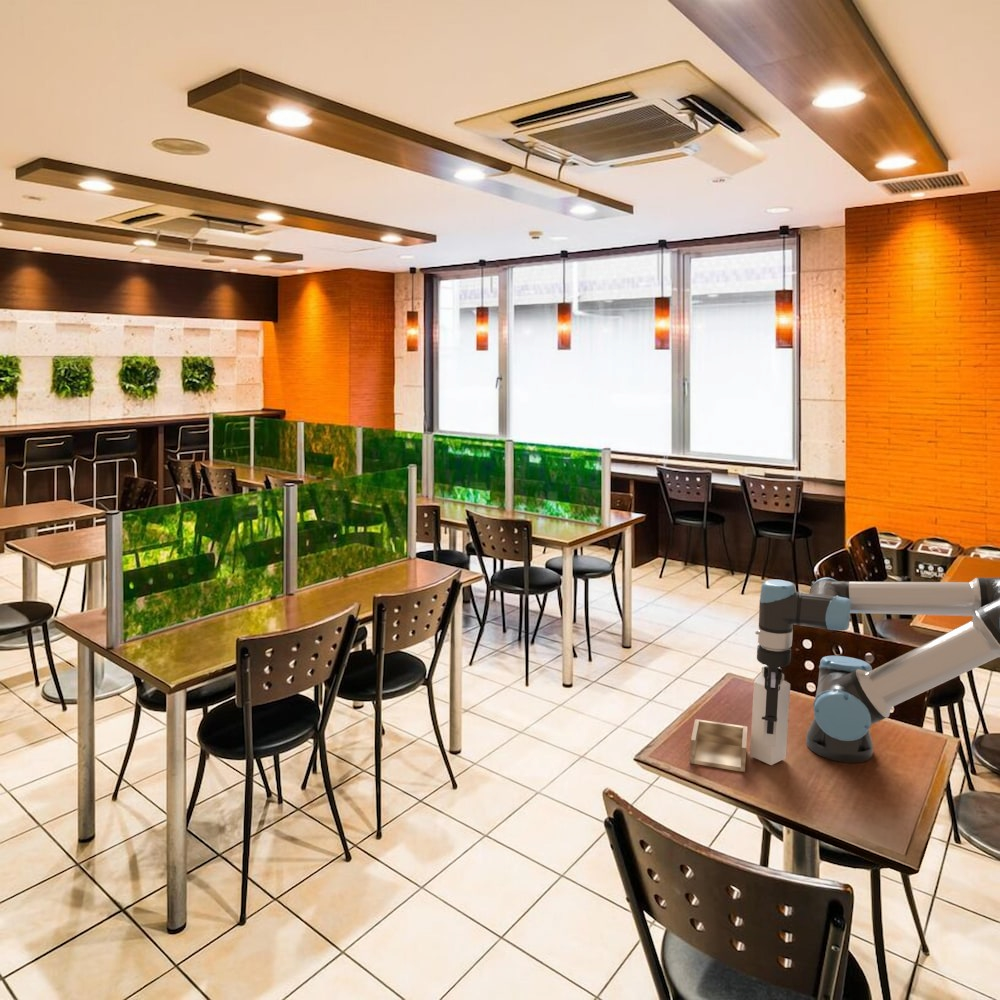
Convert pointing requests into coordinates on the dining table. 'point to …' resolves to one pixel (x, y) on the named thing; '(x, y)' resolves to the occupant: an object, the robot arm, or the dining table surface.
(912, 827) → the dining table surface
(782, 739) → the milk
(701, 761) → the u rest
